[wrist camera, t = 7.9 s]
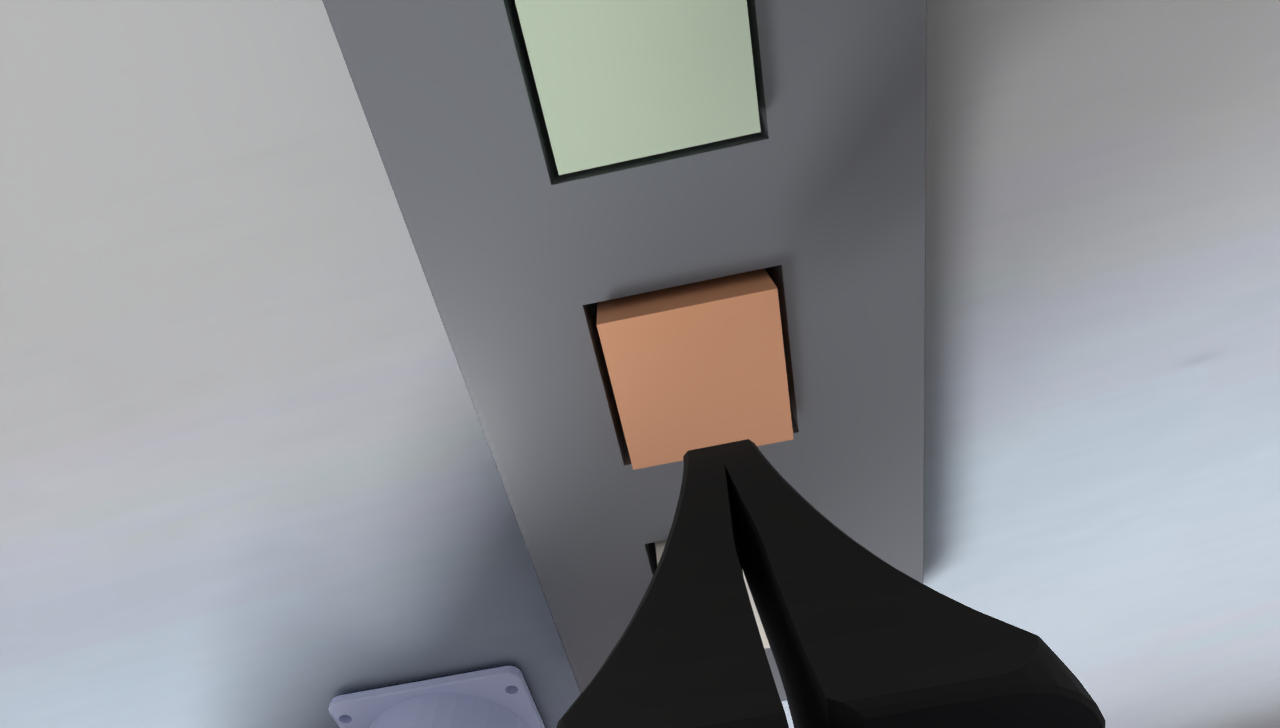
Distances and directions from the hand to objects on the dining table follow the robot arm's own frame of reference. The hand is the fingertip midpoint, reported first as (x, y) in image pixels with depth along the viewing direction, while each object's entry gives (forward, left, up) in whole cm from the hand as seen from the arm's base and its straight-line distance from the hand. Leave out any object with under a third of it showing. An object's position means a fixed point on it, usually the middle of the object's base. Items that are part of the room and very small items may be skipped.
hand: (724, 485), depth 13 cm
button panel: (0, 0, -8) cm, 8 cm away
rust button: (0, 0, -7) cm, 7 cm away
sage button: (+8, 0, -7) cm, 11 cm away
